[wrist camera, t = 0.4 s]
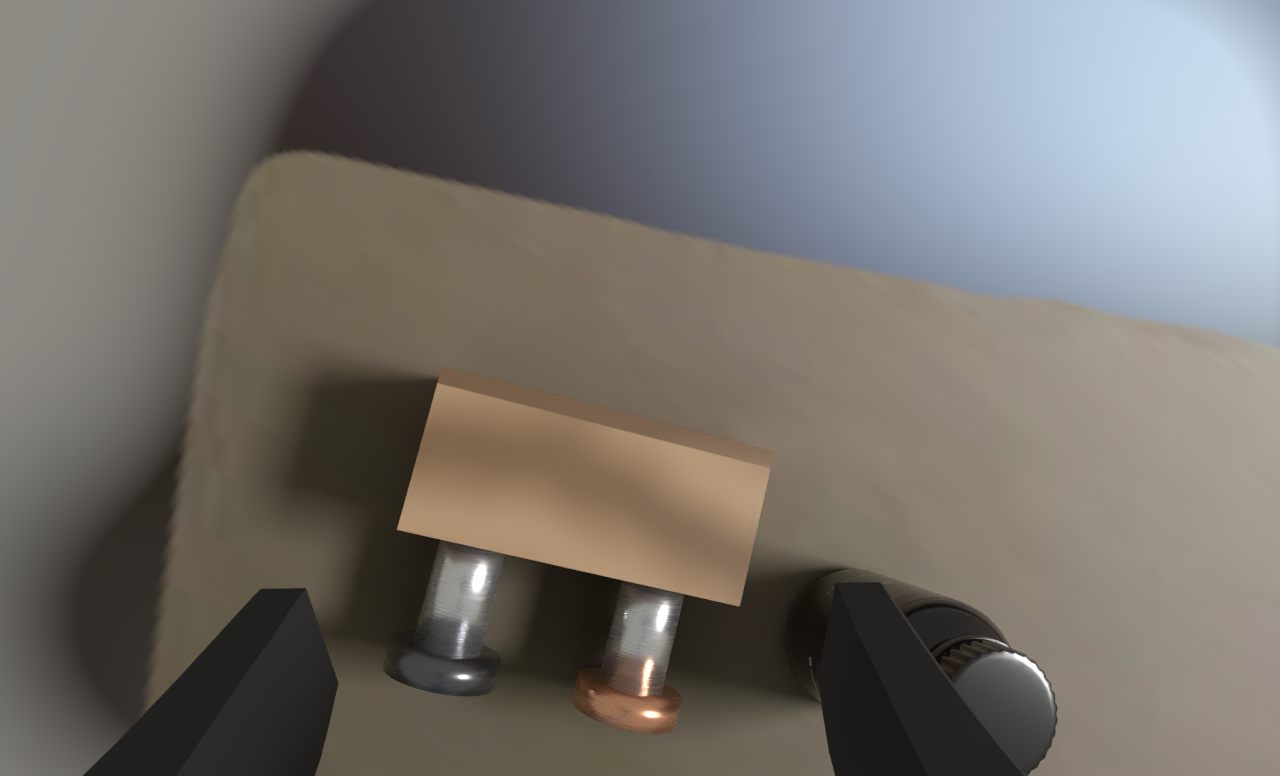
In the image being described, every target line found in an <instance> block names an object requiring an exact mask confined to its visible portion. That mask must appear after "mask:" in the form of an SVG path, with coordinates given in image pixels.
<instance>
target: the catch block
mask: <svg viewBox="0 0 1280 776" xmlns="http://www.w3.org/2000/svg"><path fill="white" fill-rule="evenodd" d="M773 455H774V452H773V451H769V450H765V449H761V448H757V447H753V446H749V445H746V444H742V443H738V442H734V441H730V440H726V439H722V438H719V437H715V436H711V435H707V434H703V433H699V432H696V431H692V430H688V429H684V428H680V427H676V426H672V425H669V424H665V423H661V422H657V421H653V420H649V419H645V418H642V417H638V416H634V415H630V414H626V413H622V412H618V411H615V410H611V409H607V408H603V407H599V406H595V405H592V404H588V403H584V402H580V401H576V400H572V399H568V398H565V397H561V396H557V395H553V394H549V393H545V392H541V391H538V390H534V389H530V388H526V387H522V386H518V385H514V384H511V383H507V382H503V381H499V380H495V379H491V378H488V377H484V376H480V375H476V374H472V373H468V372H464V371H461V370H457V369H453V368H449V367H445V366H442V368H441V372H440V375H439V379H438V383H437V386H436V390H435V393H434V397H433V401H432V404H431V408H430V412H429V415H428V419H427V422H426V426H425V430H424V433H423V437H422V441H421V444H420V448H419V451H418V455H417V459H416V462H415V466H414V470H413V473H412V477H411V480H410V484H409V488H408V491H407V495H406V499H405V502H404V506H403V509H402V513H401V517H400V520H399V524H398V528H397V530H400V531H405V532H409V533H414V534H418V535H423V536H427V537H432V538H436V539H441V540H445V541H449V542H454V543H458V544H463V545H467V546H472V547H476V548H481V549H485V550H490V551H494V552H499V553H503V554H507V555H512V556H516V557H521V558H525V559H530V560H534V561H539V562H543V563H548V564H552V565H557V566H561V567H566V568H570V569H574V570H579V571H583V572H588V573H592V574H597V575H601V576H606V577H610V578H615V579H619V580H624V581H628V582H632V583H637V584H641V585H646V586H650V587H655V588H659V589H664V590H668V591H673V592H677V593H682V594H686V595H690V596H695V597H699V598H704V599H708V600H713V601H717V602H722V603H726V604H731V605H735V606H740V604H741V599H742V595H743V590H744V586H745V581H746V577H747V572H748V568H749V563H750V559H751V554H752V550H753V545H754V541H755V536H756V532H757V527H758V523H759V518H760V514H761V509H762V505H763V500H764V496H765V491H766V487H767V482H768V478H769V473H770V469H771V464H772V460H773Z"/></svg>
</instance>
